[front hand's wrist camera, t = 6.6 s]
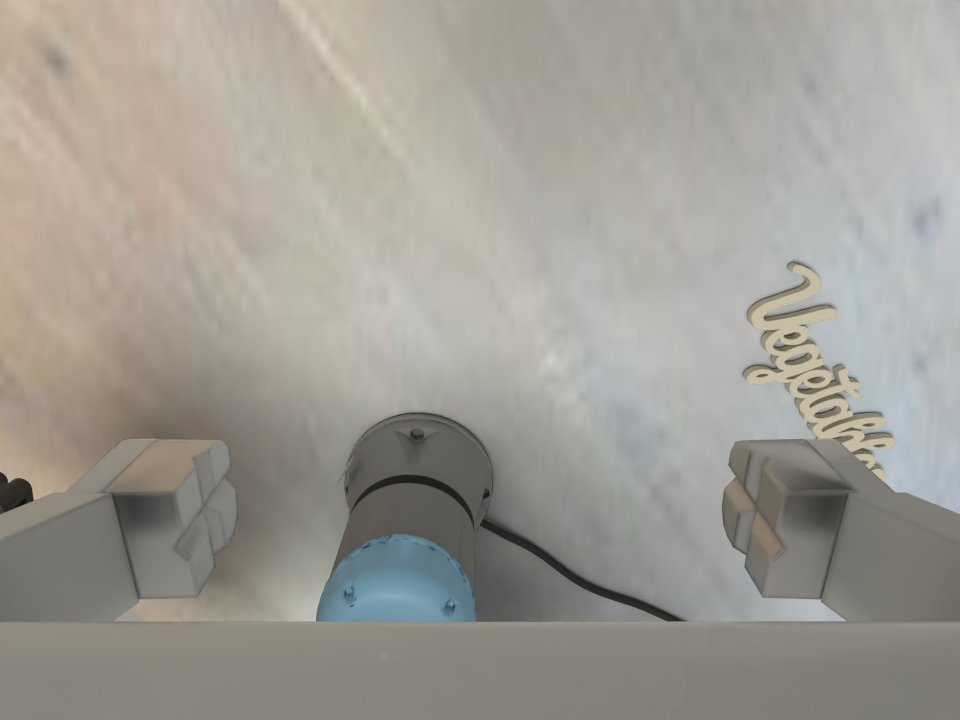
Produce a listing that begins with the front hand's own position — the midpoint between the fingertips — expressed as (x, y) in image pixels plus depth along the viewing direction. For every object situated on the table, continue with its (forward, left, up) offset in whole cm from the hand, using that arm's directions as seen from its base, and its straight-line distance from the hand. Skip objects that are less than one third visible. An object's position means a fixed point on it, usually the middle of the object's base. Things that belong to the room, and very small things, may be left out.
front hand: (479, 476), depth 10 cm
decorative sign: (+20, +33, -48) cm, 62 cm away
